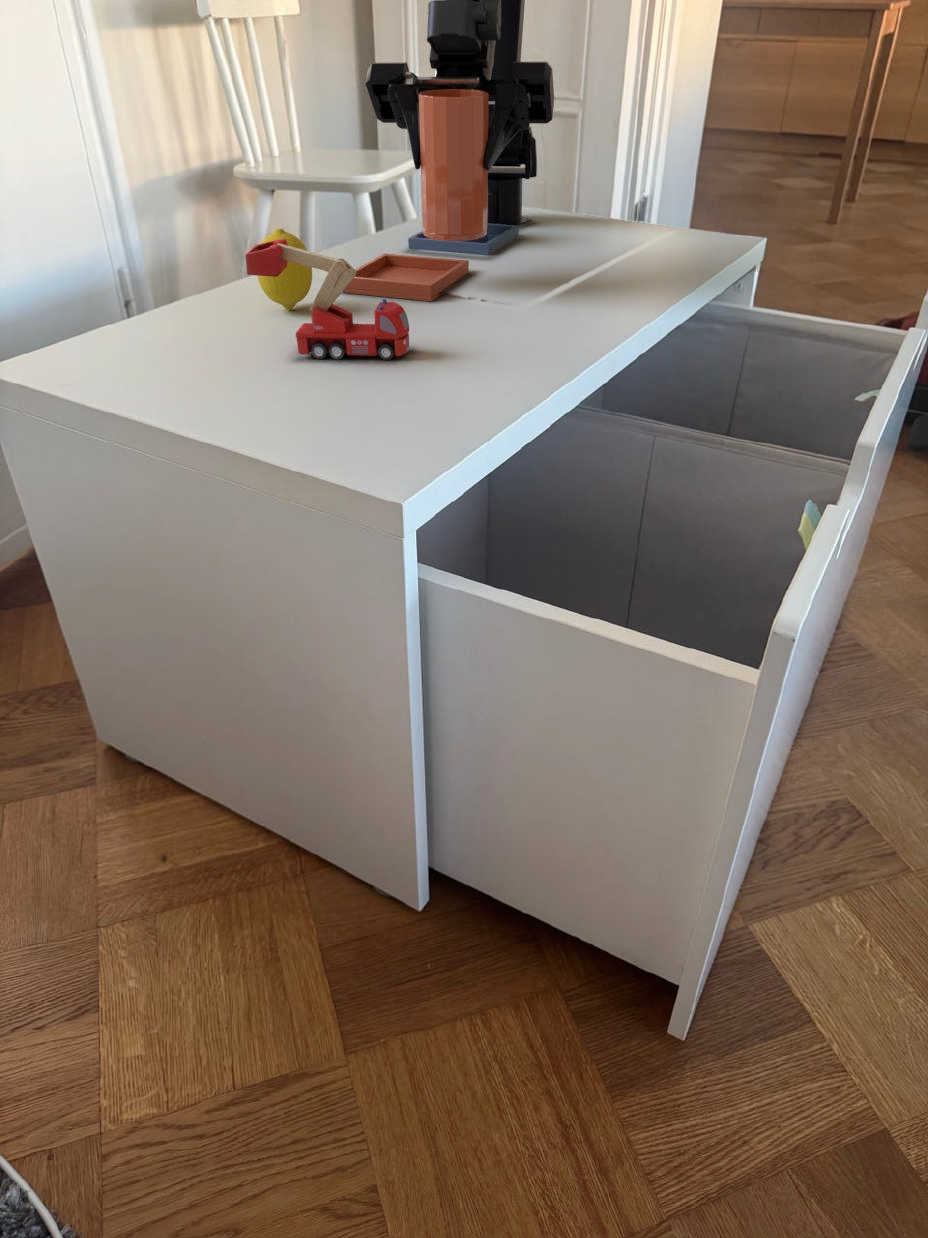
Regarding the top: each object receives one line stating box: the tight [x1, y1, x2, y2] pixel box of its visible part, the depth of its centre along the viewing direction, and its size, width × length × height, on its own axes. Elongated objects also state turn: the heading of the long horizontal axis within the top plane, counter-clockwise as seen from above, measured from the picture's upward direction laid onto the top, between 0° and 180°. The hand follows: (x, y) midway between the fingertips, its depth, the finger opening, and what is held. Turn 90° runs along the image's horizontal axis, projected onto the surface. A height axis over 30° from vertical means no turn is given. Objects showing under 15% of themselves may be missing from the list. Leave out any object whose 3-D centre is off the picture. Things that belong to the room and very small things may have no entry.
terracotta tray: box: [342, 253, 470, 302], centre depth 102 cm, size 11×11×2 cm
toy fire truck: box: [244, 239, 410, 361], centre depth 81 cm, size 3×14×10 cm, turn 84°
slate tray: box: [407, 223, 520, 256], centre depth 116 cm, size 11×11×2 cm
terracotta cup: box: [419, 89, 488, 241], centre depth 93 cm, size 7×7×13 cm
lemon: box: [257, 227, 313, 311], centre depth 93 cm, size 6×6×8 cm
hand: (451, 166), depth 92 cm, fingers closed on terracotta cup, 7 cm apart
